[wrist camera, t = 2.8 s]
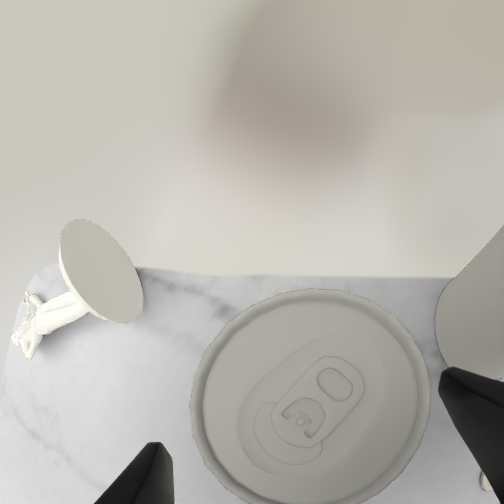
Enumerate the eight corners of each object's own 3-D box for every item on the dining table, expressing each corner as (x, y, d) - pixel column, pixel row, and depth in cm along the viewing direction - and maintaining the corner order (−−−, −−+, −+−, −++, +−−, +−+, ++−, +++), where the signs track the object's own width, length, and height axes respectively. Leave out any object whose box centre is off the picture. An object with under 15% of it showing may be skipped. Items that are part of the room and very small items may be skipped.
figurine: (45, 273, 11) (-26, 354, 13) (145, 344, 16) (47, 396, 17) (76, 200, 17) (-2, 286, 18) (143, 265, 21) (56, 329, 23)
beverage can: (231, 407, 15) (133, 399, 5) (290, 349, 17) (304, 238, 6) (292, 462, 13) (314, 560, 3) (351, 401, 15) (474, 375, 4)
